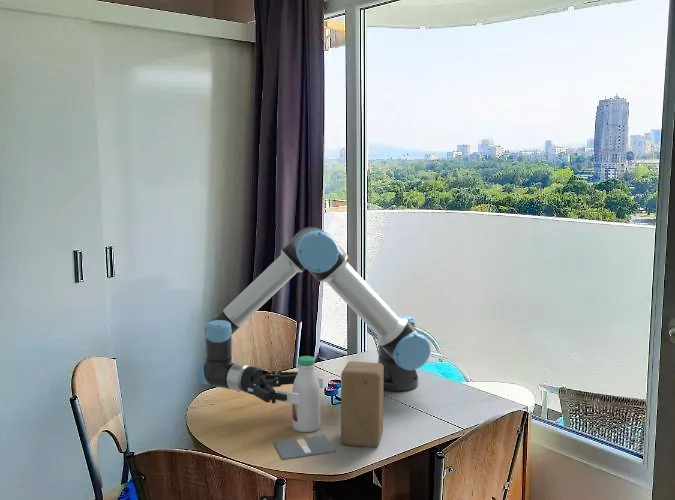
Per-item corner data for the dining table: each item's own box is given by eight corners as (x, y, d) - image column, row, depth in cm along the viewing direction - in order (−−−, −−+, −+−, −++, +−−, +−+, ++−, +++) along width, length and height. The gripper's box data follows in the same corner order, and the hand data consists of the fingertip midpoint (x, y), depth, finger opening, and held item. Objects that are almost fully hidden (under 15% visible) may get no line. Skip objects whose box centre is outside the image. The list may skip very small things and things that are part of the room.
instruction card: (324, 436, 171) (324, 434, 171) (336, 451, 161) (336, 450, 161) (273, 443, 166) (273, 441, 166) (282, 459, 157) (282, 458, 157)
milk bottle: (324, 424, 179) (324, 355, 176) (314, 434, 172) (314, 363, 169) (298, 420, 181) (298, 352, 179) (288, 430, 174) (287, 360, 171)
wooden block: (378, 449, 163) (379, 374, 160) (340, 445, 165) (340, 371, 162) (383, 433, 173) (384, 362, 170) (347, 430, 175) (347, 359, 172)
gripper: (270, 378, 195) (331, 389, 186) (220, 405, 173) (287, 420, 164) (269, 355, 194) (331, 365, 185) (220, 379, 172) (287, 392, 162)
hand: (311, 390), depth 174 cm, fingers open, 13 cm apart
